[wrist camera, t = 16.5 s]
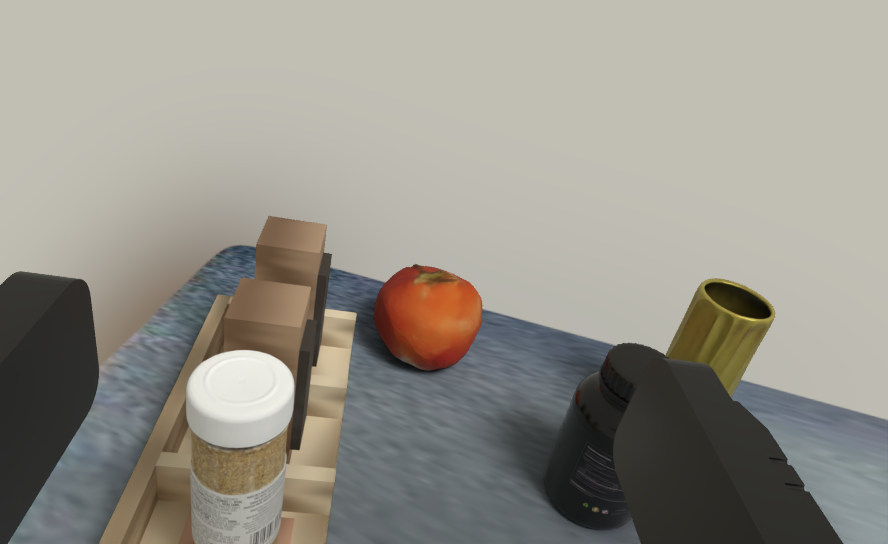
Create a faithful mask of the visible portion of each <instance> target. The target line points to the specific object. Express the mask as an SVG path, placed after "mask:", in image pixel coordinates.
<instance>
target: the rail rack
mask: <svg viewBox="0 0 888 544" xmlns="http://www.w3.org/2000/svg"><path fill="white" fill-rule="evenodd" d="M326 228H327V225H325V224H318V223H312V222H304V221H298V220H292V219H285V218H279V217H272V216H269V217H268V219H267V221H266V224H265V226H264V228H263V231H262V233H261V235H260V237H259V240H258V242H257V245H256V265H255V279H249V278H241V281H240V283H239V285H238V287H237V290H236V292H235V294H234V297H232V296H225V295H217V297H216V299H215V302H214V304H213V306H212V308H211V310H210V312H209V314H208V316H207V318H206V320H205V322H204V325H203V327H202V329H201V331H200V333H199V335H198V337H197V339H196V341H195V343H194V345H193V348H192V350H191V352H190V354H189V356H188V358H187V360H186V362H185V364H184V366H183V368H182V371H181V373H180V375H179V377H178V379H177V381H176V383H175V385H174V387H173V389H172V391H171V394H170V396H169V398H168V400H167V402H166V404H165V406H164V408H163V410H162V412H161V414H160V416H159V419H158V421H157V423H156V425H155V427H154V429H153V431H152V433H151V435H150V437H149V439H148V442H147V444H146V446H145V448H144V450H143V452H142V454H141V456H140V458H139V460H138V462H137V465H136V467H135V469H134V471H133V473H132V475H131V477H130V479H129V481H128V483H127V485H126V488H125V490H124V492H123V494H122V496H121V498H120V500H119V502H118V504H117V506H116V508H115V511H114V513H113V515H112V517H111V519H110V521H109V523H108V525H107V527H106V529H105V531H104V533H103V536H102V538H101V540H100V542H99V544H193V535H192V520H191V482H190V462H191V456H192V448H191V447H192V439H191V430H190V428H189V424H188V421H187V416H186V387H187V383H188V380H189V377H190V376H191V374H192V372H193V371H194V370H195V369H196V368H197V367H198V366H199V365H200V364H201V363H202V362H204V361H205V360H207V359H209V358H211V357H213V356H215V355H218V354H221V353H224V352H229V351H235V350H252V351H258V352H262V353H266V354H269V355H271V356H273V357H275V358H277V359H279V360H280V361H281V362H283V363H284V364H285V365H286V366H287V367H288V369H289V370H290V372H291V373H292V376H293V379H294V385H295V387H294V404H293V413H292V417H291V420H290V422H289V425H288V428H287V440H286V457H287V459H286V471H285V482H284V493H283V504H282V513H281V523H280V528H279V531H278V534H277V544H326V537H327V530H328V522H329V515H330V508H331V502H332V495H333V489H334V483H335V475H336V462H337V454H338V446H339V439H340V431H341V424H342V417H343V410H344V404H345V397H346V390H347V383H348V379H347V378H348V371H349V363H350V356H351V348H352V342H353V335H354V328H355V322H356V314H357V313H353V312H345V311H338V310H330V309H325V307H326V298H327V290H328V282H329V273H330V265H331V256H332V254H329V253H324V246H325V237H326Z"/></svg>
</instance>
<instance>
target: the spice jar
mask: <svg viewBox="0 0 888 544" xmlns="http://www.w3.org/2000/svg"><path fill="white" fill-rule="evenodd" d="M294 387H295V385H294V379H293V376H292V373H291V372H290V370H289V369H288V367H287V366H286V365H285V364H284V363H283V362H281V361H280V360H279V359H277V358H275V357H273V356H271V355H269V354H266V353H262V352H258V351H252V350H235V351H229V352H224V353H221V354H218V355H215V356H213V357H211V358H209V359H207V360H205V361H204V362H202V363H201V364H200V365H199V366H198V367H197V368H196V369H195V370H194V371H193V372H192V374H191V376H190V377H189V380H188V383H187V387H186V416H187V421H188V424H189V428H190V430H191V439H192V447H191V448H192V456H191V462H190V482H191V520H192V535H193V544H277V534H278V531H279V528H280V523H281V513H282V504H283V493H284V482H285V471H286V459H287V457H286V440H287V428H288V425H289V422H290V420H291V417H292V413H293V404H294Z"/></svg>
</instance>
